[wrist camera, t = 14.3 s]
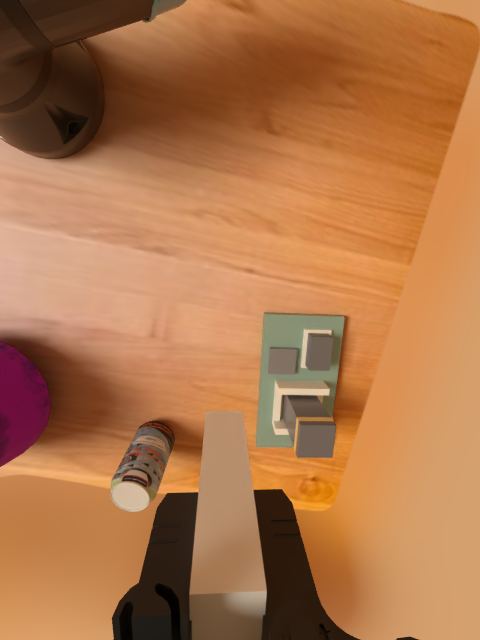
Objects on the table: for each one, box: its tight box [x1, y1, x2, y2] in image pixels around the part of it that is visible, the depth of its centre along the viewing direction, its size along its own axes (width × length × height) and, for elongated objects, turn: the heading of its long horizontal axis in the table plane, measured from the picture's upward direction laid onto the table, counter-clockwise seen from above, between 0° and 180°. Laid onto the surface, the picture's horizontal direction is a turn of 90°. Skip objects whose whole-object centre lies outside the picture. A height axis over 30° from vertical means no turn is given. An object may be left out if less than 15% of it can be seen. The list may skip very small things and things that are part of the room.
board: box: [256, 313, 345, 447], centre depth 46 cm, size 22×12×4 cm, turn 177°
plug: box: [282, 395, 336, 458], centre depth 42 cm, size 5×5×10 cm
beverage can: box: [111, 421, 175, 512], centre depth 43 cm, size 6×7×12 cm
